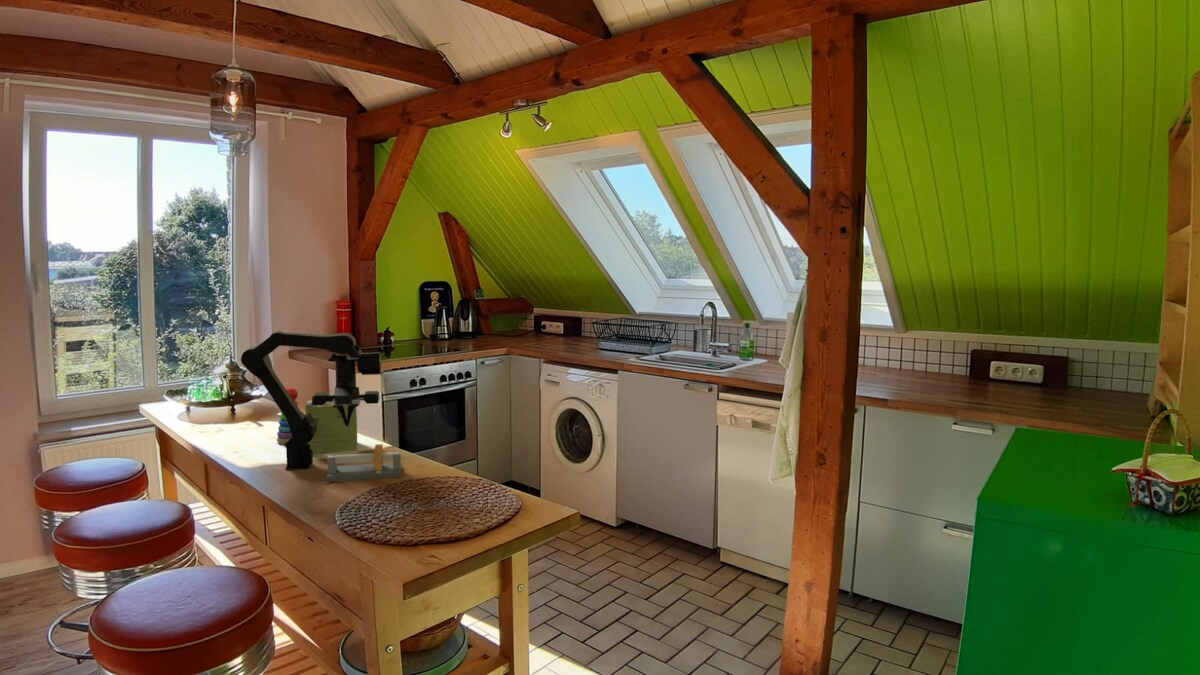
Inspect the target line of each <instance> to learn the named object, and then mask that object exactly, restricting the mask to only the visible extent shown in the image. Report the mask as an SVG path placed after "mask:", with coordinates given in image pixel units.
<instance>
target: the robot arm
mask: <svg viewBox="0 0 1200 675" xmlns="http://www.w3.org/2000/svg"><path fill="white" fill-rule="evenodd" d="M356 341H357V340H356V338H355V337H354V336H353V334H351V333H350V332H349V333H347V332H342V333H332V334H331V333H330V334H323V335H322V334H310V333H297V332H284V331H281V330H279V331H278V330H277V331H275V332H272V333H271V335H270V336H269V337H267V338H266V339H265V340H263V341H262V342H261V343H260V344H258V345H257V346H255V345H254V346H252V347H249V348H248V349H246V350H245V351H244V352H243V353H242V354H241V357H240V362H241V364H242V365H243V367H244V368H245V369H247V371H248V372H250V373H251V374H252V375H253V376H254V377H256V378H257V379H258V380H259V381H260V382H261V383H262V385H263V387H264V388H265V389H266V391H267V392H268V394H269V396H271V399H273V401H274V403H275V404H276V405H277V407H278V408H279V410H281V411H282V413H283V414H284V416H285V417H286V419H287V422H288V426H289V430H290V432H291V434H292V436H291V437H290V438H289V440H288V441H287V442H286V443H285V444H284V446H285V450H286V453H285V454H286V466H285V470H288V471H290V470H303V469H304V470H306V469H310V467H311V465H313V463H314V454H313V450H312V449H311V447H310V444H308V443H309V442H310V441H311V440H312V438H313V437H314V435H315V434H316V431H317V426H316V423H317V422H316V421H315V420H314V419H313V418H312V416H311V414H310V412H308V413H307V414H305V413H304V412H303V411H302V410H300V408H299V406H298V405H296V404H295V402H294V401H295V400H294V401H293V399H292V398H291V396H290V395H289V393H288V392H287V390H286V389H285V388H286V387H285V385H284V384H283V382H281V379H279V377H278V375H277V374H276V373H275V370H274V368H273V364H272V360H271V358H270V356H269V355H270V354H271V353H273V352H274V351H275V350H276V349H278V348H279V347H295V348H307V349H310V348H311V349H319V350H321V349H322V350H324V351H328V352H330V353H332V355H331V356H330V357H329V358H328V359H327V361H328V362H334V363H335V364H334V366H335V388H334V393H333V394H329V392H328V391H327V392H316V393H315V394H314V395H313V396H312V397H311V401H312V405H324V404H325V403H326V402H330V401H333V407H336V408H337V409H338V410H339V412H340V413H341V416H342V418H343V420H344V423H345V425H346V426H349V423H350V420H351V417H352V413H353V411H354V408H355V407H356V408H357V407H360V404H361V401H363V402H365V404H367V405H368V404H379V401H380V399H381V398H380V392H379V391H378V390H368V391H365V393H362V394H361V393H360V387H359V386H357V373H356V372H358V373H359V374H361V376H371V375H374V376H375V375H376V376H377V375H379V376H380V375H382V371H383V370H382V367H383V364H382V363H383V362H382V360H381V357H382V356H381V352H379V351H376V352H363V350H361V348H360V347H359V346H358V345H357V342H356ZM356 362H357V363H356ZM356 364H357V365H356ZM356 367H357V368H356ZM346 404H347V405H348V404H349V405H348V415H347V411H346ZM281 411H280V412H281ZM282 413H281V414H282Z"/></svg>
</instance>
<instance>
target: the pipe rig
mask: <svg viewBox="0 0 1200 675" xmlns="http://www.w3.org/2000/svg"><path fill="white" fill-rule="evenodd" d="M401 454H402V452H401V451H400V450H399V451H391V452H389V451H388V452H383V453H382V461H383V462H389V463H383V466H382V470H375V471H374V452H371V453H370V452H369V453H348V454H328V455H327V459H326V460H327V474H326V482H341V481H342V482H343V481H358V480H359V481H360V480H376V479H377V480H380V479H381V480H382V479H395V478H396V479H397V478H401V474H402V473H401V472H402V461H401V460H402V459H401V458H402V455H401ZM391 462H392V463H391ZM357 463H369V464H357ZM370 463H373V464H370ZM338 464H350V465H338ZM351 464H353V465H351Z"/></svg>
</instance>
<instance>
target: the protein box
mask: <svg viewBox="0 0 1200 675" xmlns="http://www.w3.org/2000/svg"><path fill="white" fill-rule="evenodd" d="M348 405H349V404H348ZM348 405H347V404H346V411H347V415H348ZM304 411H305V413H304V414H305V415H306V414H307V413H308V412H310V414H311V416H312V418H313V419H314V420H315V421H316V422H317V423H316V426H317V431H316V434H315V435H314V437H313V438H312V440H311V441H310V442H309V443H308V444H310V447H311V449H312V450H313V455H314V454H328V453H341V452H344V451H345V452H354V451H357V450H358V422H357V420H358V419H357V418H358V417H357V407H355V408H354V411H353V413H352V417H351V420H350V423H349V426H346V425H345V423H344V420H343V418H342V416H341V413H340V412H339V410H338V409H337V408H336V407H333V401H330V402H326V403H325V404H324V405H312V400H307V402H306V405H305V410H304Z"/></svg>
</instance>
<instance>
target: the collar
mask: <svg viewBox="0 0 1200 675" xmlns="http://www.w3.org/2000/svg"><path fill="white" fill-rule="evenodd" d="M373 453H374V462H373V464H374V471H375V470H382V466H383V464H384V461H382V453H384V444H382V443H381V444H380V443H379V444H378V443H377V444H375V445H374V449H373Z"/></svg>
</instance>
